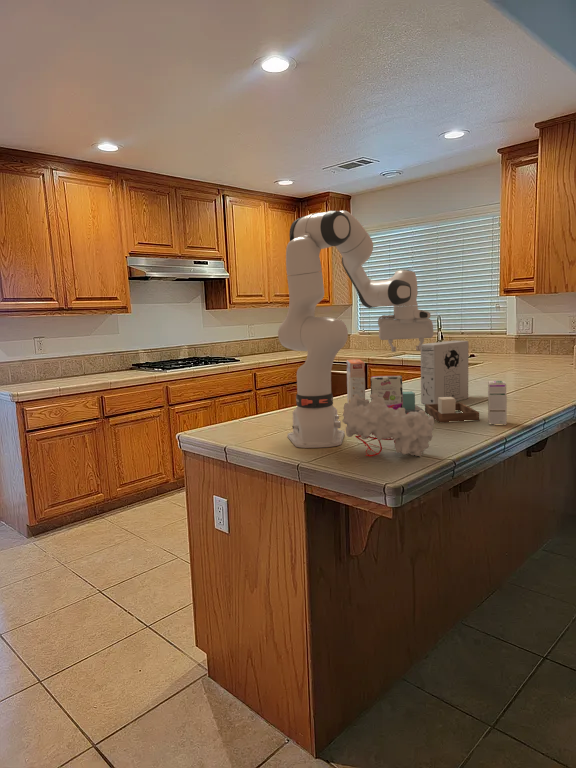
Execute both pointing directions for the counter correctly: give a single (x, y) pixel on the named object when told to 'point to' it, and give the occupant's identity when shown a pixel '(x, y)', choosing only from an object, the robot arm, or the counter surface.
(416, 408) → the trivet
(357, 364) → the cracker box
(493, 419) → the syrup box
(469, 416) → the crate
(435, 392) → the cereal box
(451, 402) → the cream block
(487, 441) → the counter surface
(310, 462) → the counter surface
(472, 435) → the counter surface
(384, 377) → the candy bar box
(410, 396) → the teal block
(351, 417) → the lumpy white molecule
